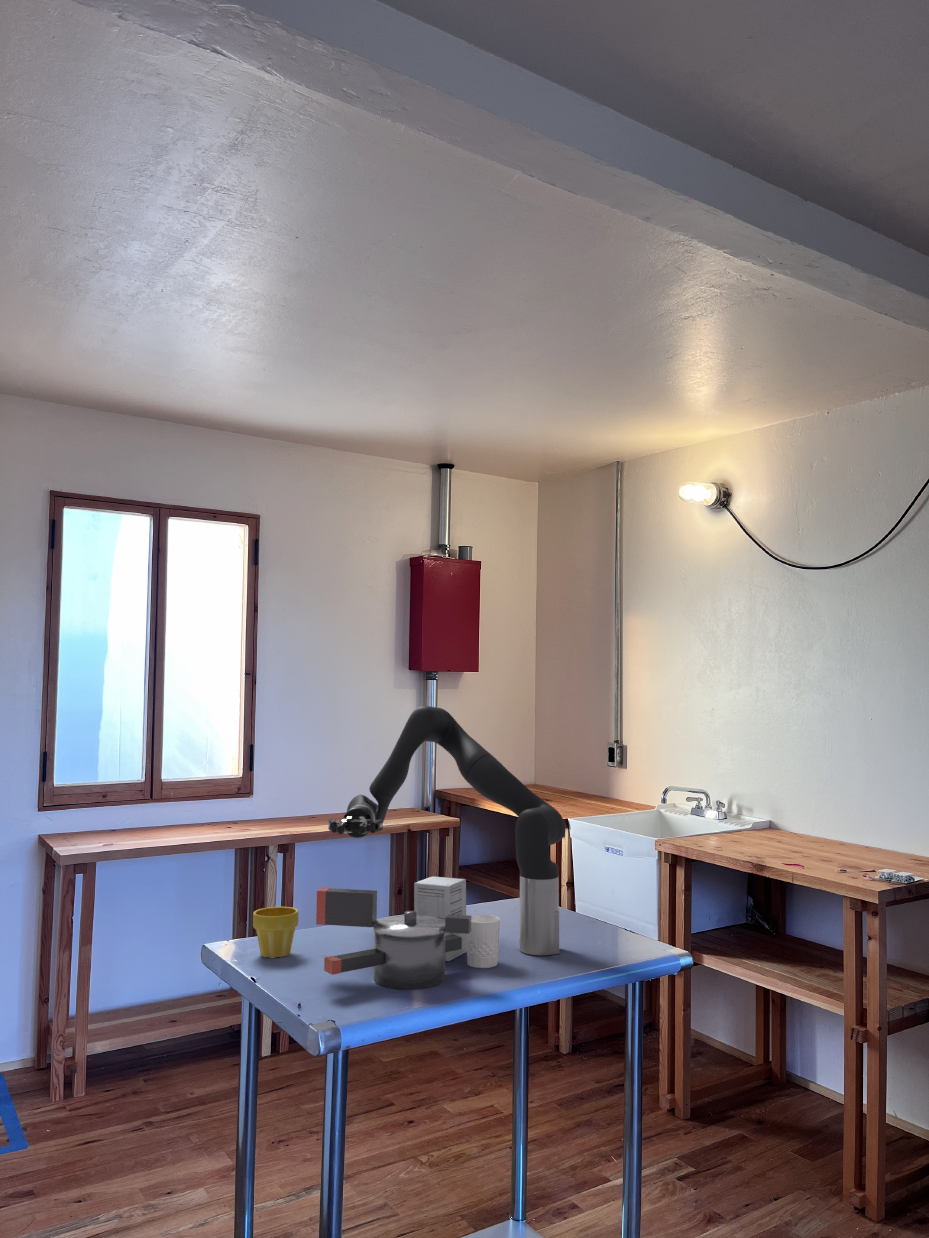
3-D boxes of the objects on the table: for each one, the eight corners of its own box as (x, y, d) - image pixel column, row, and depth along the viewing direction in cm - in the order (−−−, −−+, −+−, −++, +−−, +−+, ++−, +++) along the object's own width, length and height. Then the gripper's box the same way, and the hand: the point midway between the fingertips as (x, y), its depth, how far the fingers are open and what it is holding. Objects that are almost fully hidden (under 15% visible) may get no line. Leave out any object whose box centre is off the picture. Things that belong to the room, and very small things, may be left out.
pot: (462, 967, 202) (462, 920, 202) (455, 1001, 179) (456, 948, 180) (342, 964, 203) (343, 918, 204) (320, 997, 180) (322, 945, 181)
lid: (476, 923, 199) (476, 889, 200) (462, 941, 184) (462, 904, 184) (331, 915, 205) (331, 882, 206) (305, 932, 190) (306, 896, 191)
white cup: (488, 971, 199) (488, 924, 200) (458, 965, 203) (458, 919, 204) (506, 962, 205) (506, 917, 206) (476, 957, 209) (476, 912, 210)
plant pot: (242, 954, 210) (244, 910, 211) (280, 945, 218) (281, 903, 219) (269, 963, 203) (270, 918, 204) (306, 954, 211) (307, 910, 212)
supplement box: (467, 952, 214) (468, 878, 215) (449, 962, 205) (450, 885, 207) (431, 947, 218) (432, 875, 219) (412, 956, 210) (413, 881, 211)
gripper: (331, 805, 233) (320, 813, 216) (387, 805, 233) (381, 814, 216) (330, 835, 232) (320, 845, 215) (387, 835, 232) (380, 846, 215)
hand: (350, 829), depth 215 cm, fingers open, 4 cm apart
